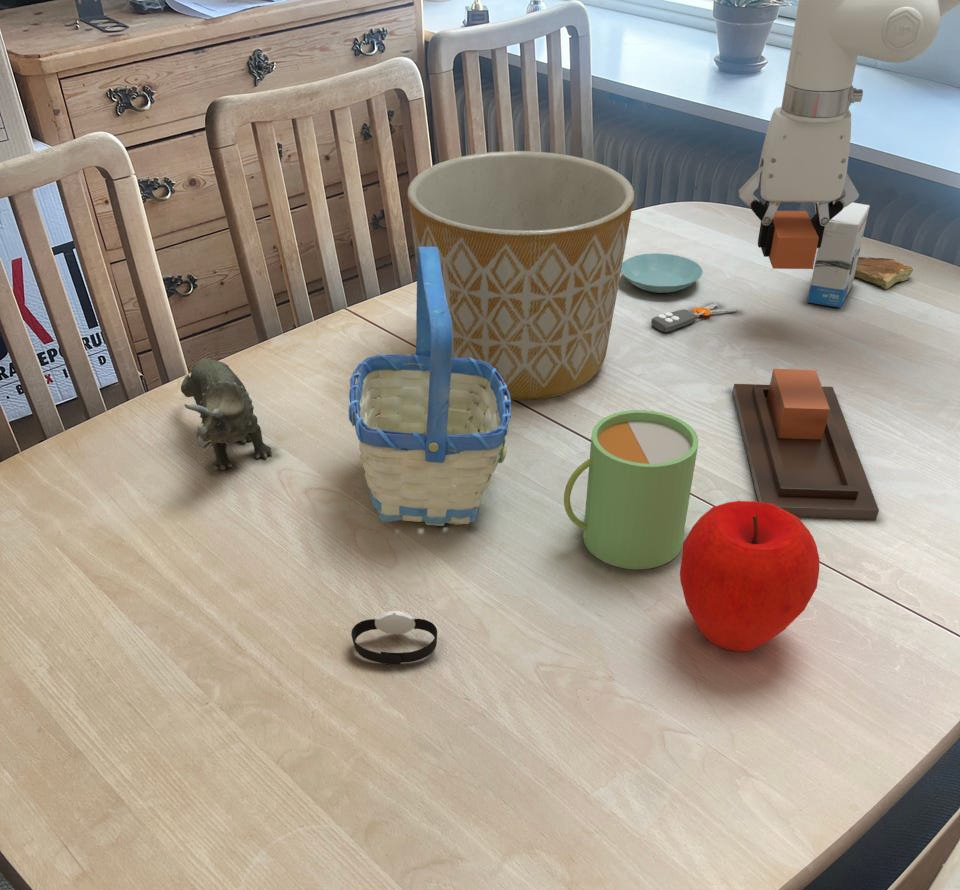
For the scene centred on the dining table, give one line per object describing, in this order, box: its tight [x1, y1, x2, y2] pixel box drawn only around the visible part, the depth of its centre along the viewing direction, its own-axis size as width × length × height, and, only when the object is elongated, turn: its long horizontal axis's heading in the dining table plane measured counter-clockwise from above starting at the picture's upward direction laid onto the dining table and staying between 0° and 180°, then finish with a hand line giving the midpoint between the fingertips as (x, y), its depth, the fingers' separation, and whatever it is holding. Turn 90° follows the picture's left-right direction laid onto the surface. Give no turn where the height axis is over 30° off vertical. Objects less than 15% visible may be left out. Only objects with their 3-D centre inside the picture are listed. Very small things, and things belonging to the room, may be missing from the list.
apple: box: [679, 500, 821, 652], centre depth 92 cm, size 12×12×13 cm
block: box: [768, 210, 819, 270], centre depth 134 cm, size 9×5×4 cm, turn 176°
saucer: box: [621, 252, 704, 294], centre depth 152 cm, size 12×12×2 cm
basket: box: [348, 247, 512, 527], centre depth 106 cm, size 21×16×24 cm
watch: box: [350, 610, 438, 665], centre depth 94 cm, size 8×5×4 cm, turn 91°
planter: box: [407, 150, 635, 401], centre depth 128 cm, size 26×26×22 cm
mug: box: [563, 409, 700, 570], centre depth 103 cm, size 13×10×12 cm
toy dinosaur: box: [180, 357, 273, 471], centre depth 117 cm, size 22×8×11 cm, turn 18°
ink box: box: [806, 202, 870, 308], centre depth 146 cm, size 9×5×12 cm, turn 154°
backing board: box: [732, 368, 880, 520], centre depth 118 cm, size 26×12×5 cm, turn 176°
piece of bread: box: [854, 256, 914, 290], centre depth 155 cm, size 11×8×2 cm
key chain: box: [651, 302, 738, 333], centre depth 144 cm, size 13×4×2 cm, turn 123°
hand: (787, 251), depth 135 cm, fingers closed on block, 5 cm apart
